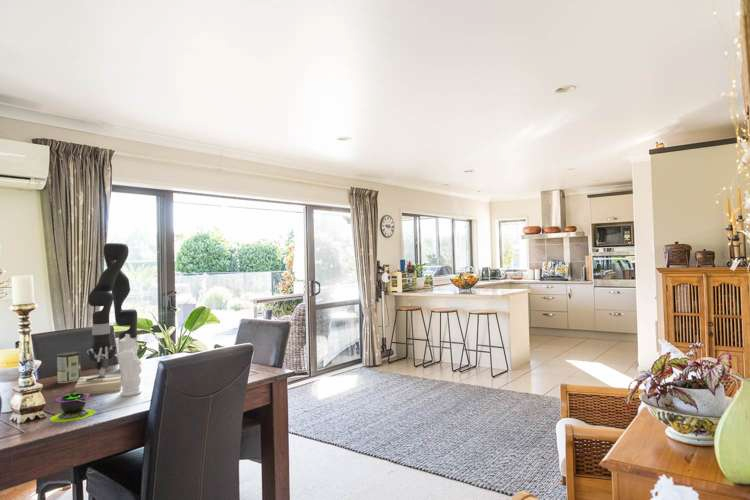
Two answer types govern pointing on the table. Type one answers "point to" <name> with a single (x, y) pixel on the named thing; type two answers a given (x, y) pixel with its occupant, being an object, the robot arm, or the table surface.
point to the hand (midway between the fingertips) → (101, 368)
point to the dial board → (99, 384)
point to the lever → (101, 368)
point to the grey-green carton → (68, 367)
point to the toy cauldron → (72, 408)
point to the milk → (126, 347)
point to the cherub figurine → (130, 372)
